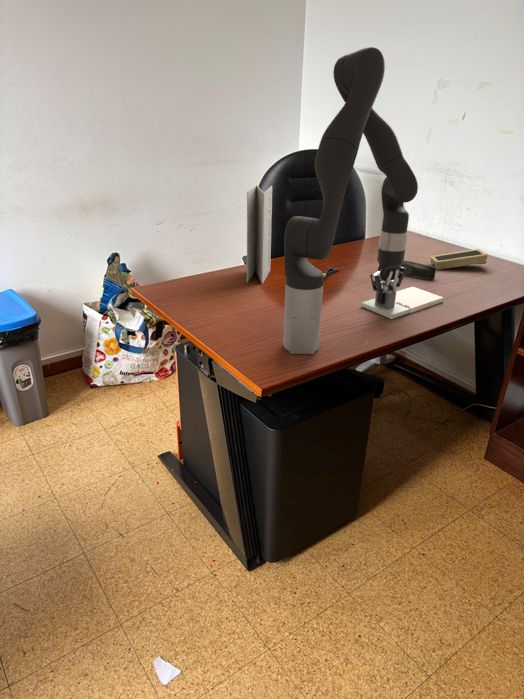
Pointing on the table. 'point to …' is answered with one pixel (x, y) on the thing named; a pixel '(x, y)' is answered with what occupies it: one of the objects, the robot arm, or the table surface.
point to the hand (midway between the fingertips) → (384, 302)
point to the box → (458, 259)
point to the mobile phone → (419, 270)
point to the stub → (386, 305)
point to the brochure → (259, 232)
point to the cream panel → (416, 299)
